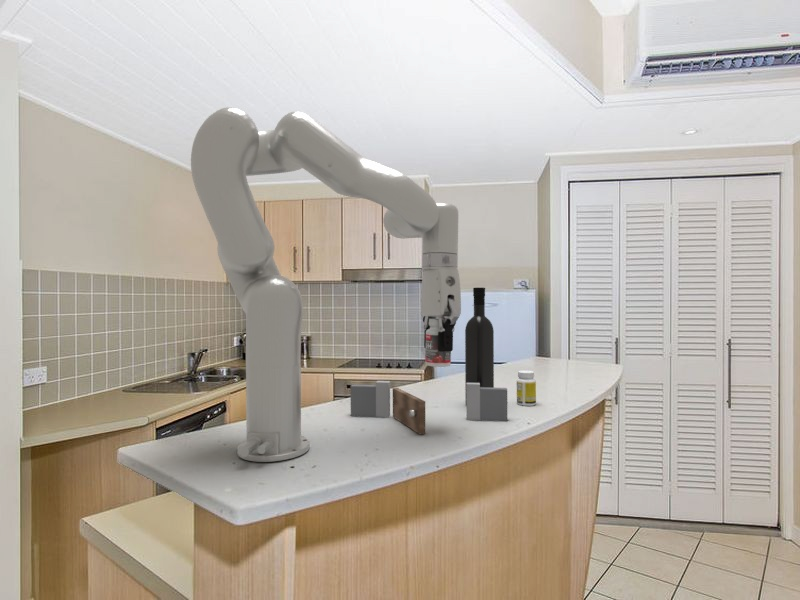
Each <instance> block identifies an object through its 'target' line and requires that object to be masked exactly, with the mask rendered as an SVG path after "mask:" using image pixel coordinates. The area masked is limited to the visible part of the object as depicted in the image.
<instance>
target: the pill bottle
mask: <svg viewBox="0 0 800 600" xmlns="http://www.w3.org/2000/svg"><path fill="white" fill-rule="evenodd" d="M445 322H446V320H444V323H445ZM429 326H430V329H428V330H427V331H426V345H425V346H426V347H425V348H424V349H425V350H424V351H425V352H424V353H425V354H424V359H425V360H424V361H425V362H424V363H425V365H426V366H429V367H434V368H435V367H436V368H437V367H438V368H445V367H450V366H451V365H452V364H451V361H452V351H444V352H440V351H438V332H441V331H440V326H439V319H429Z"/></svg>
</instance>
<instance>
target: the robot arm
mask: <svg viewBox="0 0 800 600" xmlns="http://www.w3.org/2000/svg"><path fill="white" fill-rule="evenodd" d="M301 169H304V171H306V172H308V173H309V174H310V175H312V176H313V177H315V178H316V179H317V180H319V181H320V182H322V184H324V185H325V186H327V187H328V188H330V189H331V190H332V191H334V192H335V193H336V194H339V195H341V196H343V197H345V196H346V197H350V198H359V199H363V200H368V201H371V202H373V203H376V204H378V205H380V206H382V207H383V208H385V209H386V211H385V213H384V215H383V218H382V221H383V222H382V223H383V227H384V228H385V230H386V233H387V234H389V235H390V236H392V237H395V238H397V239H417V238H420V239H421V241H422V242H421V271H423V272H422V277H421V278H422V279H421V287H420V289H421V290H420V315H421V319H422V322H423V330H424V332H423V333H424V334H423V335H424V339H423V340H424V341H423V343H424V344H423V347H424V349H425V347H426V346H425V345H426V331H427V330H428V329H430V326H429V319H439V326H440V331H441V332H438V351H440V352H444V351H451V352H452V351H453V349H454V344H453V343H454V332H455V326H456V324H457V321H458V319H459V318H460V316H461V315H462V313H461V312H462V298H461V295H462V294H461V281H460V273H459V269H458V262H459V261H458V260H459V257H458V256H459V254H458V253H459V252H458V251H459V210H458V208H457V205H454V204H452V203H447V202H436V201H435V199H434V198H433V197H432V196H431V194H429V192H427V190H425V189H424V188H422V187H421V186H420V184H417V183H416V182H415V181H414V180H412V179H411V178H410V177H408V176H407V175H405V174H404V173H402V172H401V171H399V170H397V169H394V168H392V167H390V166H389V167H388V166H386V165H384V164H382V163H379V162H377V161H374V160H371V159H369V158H367V157H365V156H362V155H361V154H360V153H359V152H357V151H356V150H355V149H354V148H352V147H351V146H349V145H348V144H347V143H345V142H344V141H343V140H342V139H341V138H339V137H338V136H337V135H335V134H334V133H333V132H332V131H330V130H329V129H328V128H327V127H325V125H324V126H323V125H322V123H320V122H319V121H318V120H316V119H315V118H314V117H312V116H311V115H309V114H308V113H305V112H303V111H296V110H295V111H290V112H288V113H286V114H285V115H283V116H282V117H281V119H280V120H279V121H278V123H277V124H276V126H275V127H274V129H271V130H264V131H263V130H262V131H261V130H260V131H259V129H258V128H257V124H256V123H255V122H254V121H253V119H252V117H250V116H249V114H247V113H246V112H245V111H244V110H242V109H239V108H237V107H228V106H227V107H223V108H220V109H217V110H216V111H215V112H213V113H211V114H210V115H209V116H208V117H207V118H206V119H205V120H204V122H203V123H202V124H201V125H200V127H199V128H198V130H197V132H196V134H195V137H194V140H193V143H192V147H191V155H190V171H191V176H192V181H193V184H194V189H195V191H196V194H197V197H198V199H199V202H200V204H201V206H202V208H203V211H204V213H205V216H206V218H207V221H208V223H209V225H210V227H211V229H212V232H213V233H214V236H215V239H216V242H217V248H216V249H217V257H218V259H219V261H220V265H221V266H222V268H223V271H224V273H225V276H226V277H227V279H228V282H229V283H230V286H231V287H232V290H233V292H234V295H235V296H236V298H237V300H238V303H239V305H240V306H241V309H242V311H243V312H244V315H245V316H246V318H245V321H246V323H245V324H246V326H245V327H246V328H245V329H246V330H245V388H246V389H245V391H246V392H245V393H246V394H245V395H246V396H245V397H246V399H245V409H246V411H245V413H246V418H245V420H246V425H245V426H246V429H245V430H246V433H245V434H246V439H245V440H244V441H243V442H241V443H240V444H239V445H238V446H237V448H236V450H237V451H236V452H237V456H238V457H239V458H241V459H242V460H245V461H249V462H255V463H270V462H271V463H273V462H280V461H287V460H291V459H294V458H297V457H299V456H302V455H304V454H306V453H307V452H308V451H309V450H310V448H311V441H310V439H309V438H307V437H305V436H303V435H302V376H301V375H302V363H301V361H302V360H301V357H302V356H301V355H302V354H301V352H302V351H301V348H302V347H301V346H302V345H301V342H302V329H303V327H302V325H303V316H304V303H303V298H302V293H301V291H300V290H299V288H298V286H297V284H295V283H294V282H293V281H292V280H291V279H289V278H288V277H286V276H282V275H281V273H280V270H279V269H278V266H277V263H276V261H275V259H274V254H275V242H274V239H273V236H272V234H271V233H270V230H269V229H268V226H267V224H266V223H265V221H264V218H263V217H262V214H261V212H260V210H259V208H258V205H257V203H256V201H255V199H254V196H253V193H252V190H251V187H250V186H249V182H248V179H247V177H249V176H251V177H252V176H263V175H264V176H265V175H274V174H282V173H283V174H284V173H285V174H286V173H290V172H291V173H292V172H296V171H300V170H301ZM444 320H446V322H445V323H444Z"/></svg>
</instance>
